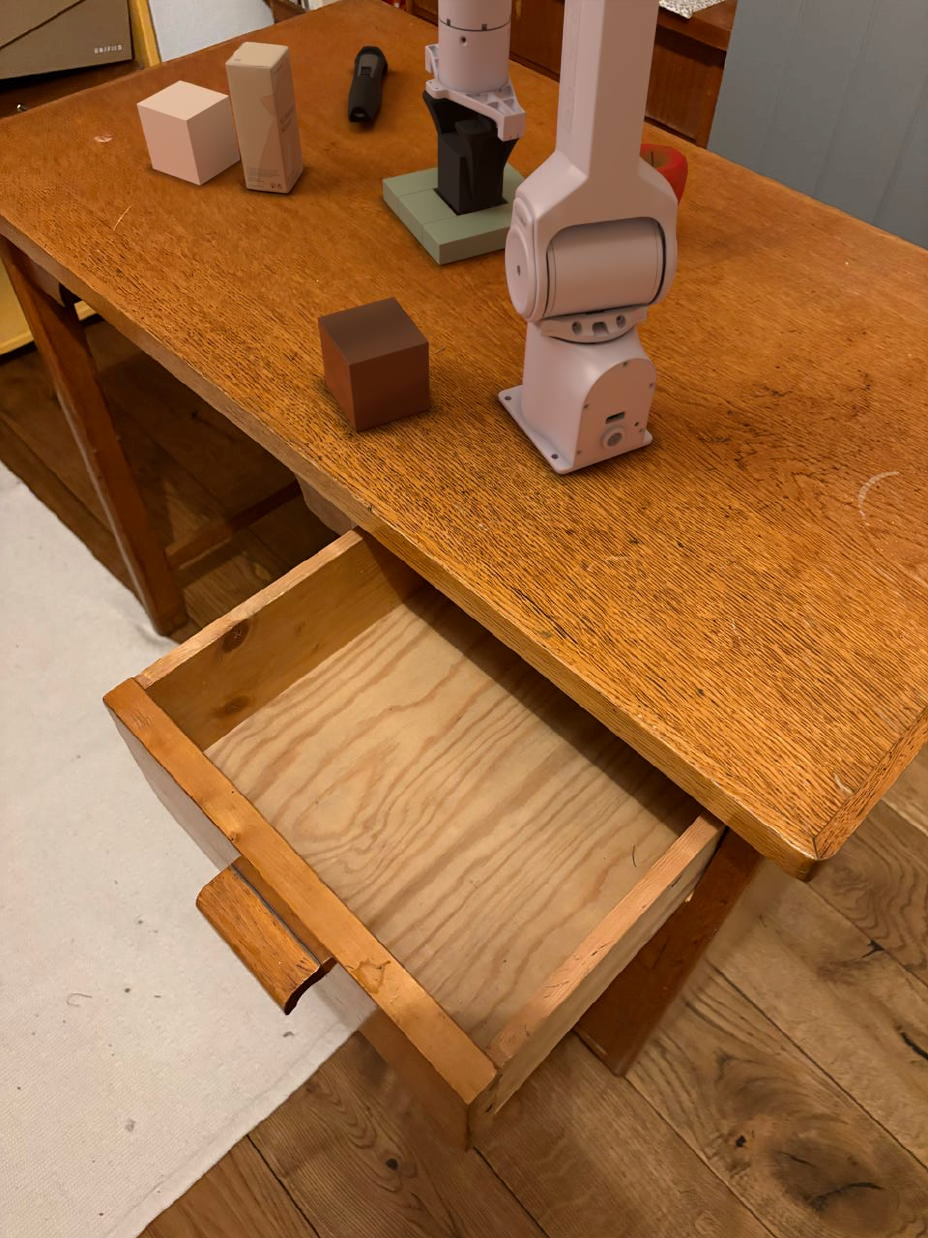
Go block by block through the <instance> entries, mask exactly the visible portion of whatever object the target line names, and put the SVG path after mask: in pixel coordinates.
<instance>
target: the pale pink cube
mask: <svg viewBox="0 0 928 1238" xmlns="http://www.w3.org/2000/svg"><path fill="white" fill-rule="evenodd" d="M136 107H137V112H138V115H139V120H140V123H141V127H142V131H143V135H144V139H145V143H146V146H147V151H148V155H149V158H150V162H151V166H152V169H153V170H156V171H158V172H161V173H164V174H167V175H170V176H173V177H175V178H178V179H180V180H183V181H186V182H189V183H191V184H194V185H197V186H202V185H203V184H205V183H207V182H208V181H209V180H211V179H213V178H214V177H216V176H217V175H219V174H221V173H223V172H224V171H225V170H226V169H229V167H232V166H233V165H235V163H238V162H239V161H241V155H240V149H239V143H238V138H237V132H236V126H235V121H234V115H233V110H232V105H231V98H230V95H228V94H224V93H221V92H218V91H216V90H213V89H209V88H206V87H202V86H200V85H196V84H194V83H190V82H187V81H183V80H181V79H179V80H178V81H176V82H174V83H173V84H171V85H169V86H167V87H165V88H164V89H162V90H160V91H158V92H156V93H154V94H152V95H151V96H149V97H147V98H145V99H143V100H142V101H139V102H137V103H136Z"/></svg>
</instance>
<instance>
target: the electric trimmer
mask: <svg viewBox="0 0 928 1238" xmlns="http://www.w3.org/2000/svg"><path fill="white" fill-rule="evenodd" d="M353 66H354V67H353V73H352V74H353V76H352V80H351V86H350V89H349V92H348V97H347V99H348V100H347V118H348V121H349V122H351V123H361V124H363V123H365V124H366V123H367V124H370V123H371V122H372V121H373V120H374V117H375V115H376V113H377V111H378V109H379V107H380V105H381V102H382V99H383V93H382V86H381V82H382V77H383V74H386V73H387V71H388V69H389V63H388V60H387V59H386V56H385V53H384V52H383V51H382V50H381V48H380V47H378V46H373V45H365V46H363V47H361V49H359V51H358V53H357V54H356V55H355V57H354V65H353Z"/></svg>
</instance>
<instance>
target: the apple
mask: <svg viewBox="0 0 928 1238" xmlns="http://www.w3.org/2000/svg"><path fill="white" fill-rule="evenodd" d="M639 156H640V157H641V158H642V159H643V160H644V161H646V162H647V163H648V164H649V165H651V166H652V167H653V168H654V169H656V170H657V171H658V172H659V173H661V174H662V175H663V176H664V178H665V179H666V180H667V181H668V182H669V184H670V185H671V187H672V189H673V191H674V194H675V196H676V198H677V200H678V206H679V205H680V202H681V200H682V198H683V194H684V192H685V187H686V184H687V178H688V175H689V164H688V160H687V157H686V155H684V154H683V153H682V152H681V151H680V150H678V149H676V148H675V147H672V146H668V145H663V144H656V143H655V144H653V143H641V146H640V153H639Z"/></svg>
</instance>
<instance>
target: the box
mask: <svg viewBox="0 0 928 1238" xmlns="http://www.w3.org/2000/svg"><path fill="white" fill-rule="evenodd" d="M225 69H226V76H227V82H228V87H229V95H230V101H231V104H232V105H231V106H232V113H233V118H234V124H235V130H236V136H237V142H238V148H239V153H240V159H241V164H242V169H243V175H244V180H245V181H244V182H245V186H246V189H248V190H255V191H261V192H262V191H263V192H271V193H272V192H273V193H281V194H289V193H290V191H291V190H292V188H293V187H294V185H296V182H297V181H298V179H299V178H300V176H301V175H302V173H303V172H304V163H303V156H302V155H303V154H302V147H301V137H300V129H299V122H298V114H297V105H296V96H295V87H294V81H293V79H294V78H293V71H292V65H291V56H290V47H289V46H287V45H282V44H273V43H265V42H262V43H261V42H255V41H245V42H243V43H242V44H241V45H240V46H239V47H238V48H237V49H236V50H235V51H234V52H233V54H232V55H231V56H230V57H229V59H228V60H226V62H225Z"/></svg>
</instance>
